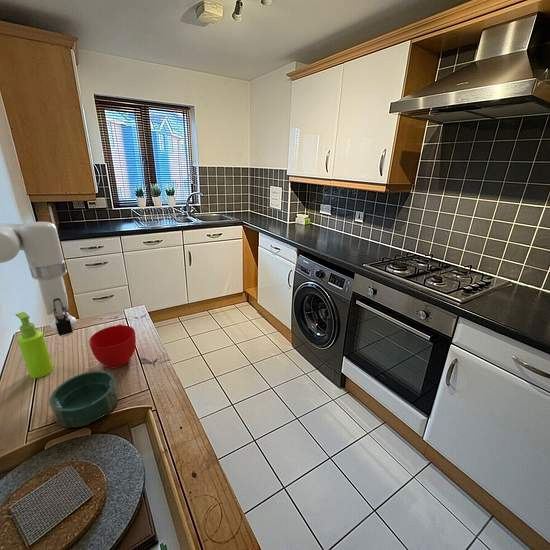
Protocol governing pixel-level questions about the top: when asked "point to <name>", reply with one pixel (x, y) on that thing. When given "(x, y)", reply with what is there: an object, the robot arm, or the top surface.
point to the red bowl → (113, 345)
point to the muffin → (72, 321)
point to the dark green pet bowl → (84, 398)
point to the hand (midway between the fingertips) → (64, 327)
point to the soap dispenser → (34, 348)
